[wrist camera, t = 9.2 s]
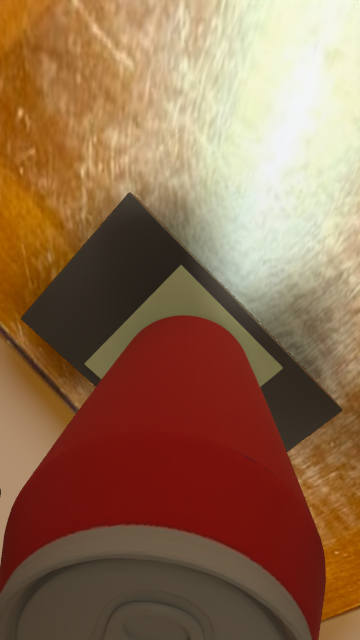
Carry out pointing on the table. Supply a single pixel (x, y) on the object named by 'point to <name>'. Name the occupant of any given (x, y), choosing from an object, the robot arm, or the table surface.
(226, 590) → the beverage can
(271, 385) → the tray
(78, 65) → the table surface
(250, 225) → the table surface
